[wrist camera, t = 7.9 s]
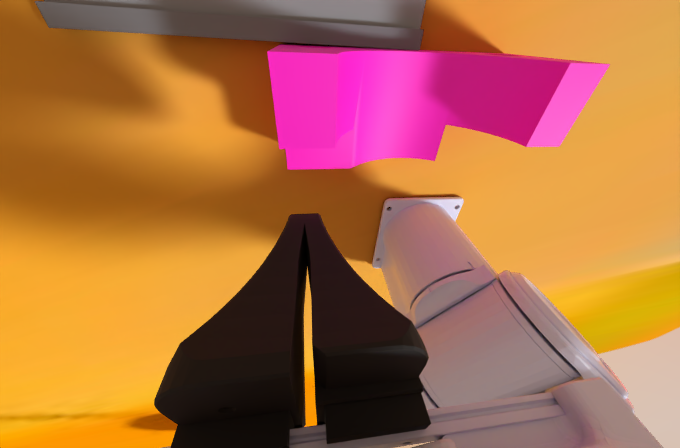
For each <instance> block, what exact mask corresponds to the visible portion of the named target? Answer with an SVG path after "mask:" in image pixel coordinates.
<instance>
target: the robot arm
mask: <svg viewBox="0 0 680 448" xmlns="http://www.w3.org/2000/svg"><path fill="white" fill-rule="evenodd" d="M463 202H464V200H463V199H462V198H461V197H426V198H389V199H387V200H386V201H385V202H384V206H383V211H382V216H381V221H380V226H379V231H378V236H377V241H376V246H375V251H374V256H373V261H372V266H373V267H374V268H381V269H382V272H383V275H384V278H385V281H386V284H387V287H388V290H389V293H390V296H391V299H392V302H393V305H394V307H392V306H391V305H390V304H389V303H387V302H386V301H385V300H384V299H383V298H382V297H380V296H379V295H378V294H377V293H376V292H375V291H374V290H373V289H372V288H371V287H370V286H369V285H368V284H367V283H366V282H365V281H363V280H362V278H361V277H360V276H359V275H358V274H357V273H356V272H355V271H354V270H353V268H352V267H351V266H350V265H349V264H348V262H347V261H346V260H345V259H344V257H343V256H342V254H341V253H340V252H339V250H338V249H337V247H336V246H335V244H334V243H333V241H332V239H331V238H330V236H329V234H328V232H327V230H326V228H325V226H324V224H323V222H322V219H321V216H320V215H319V214H318V213H316V214H291V215H290V216H289V218H288V221H287V223H286V226H285V228H284V230H283V232H282V234H281V236H280V237H279V239H278V241H277V243H276V244H275V246H274V248H273V249H272V251H271V252H270V254H269V255H268V257H267V258H266V260H265V261H264V262H263V264H262V265H261V266H260V268H259V269H258V270H257V271H256V273H255V274H254V275H253V276H252V278H251V279H250V280H249V281H248V282H247V283H246V284H245V285H244V287H243V288H242V289H241V290H240V291H239V292H238V293H237V294H236V295H235V296H234V297H233V298H232V299H231V300H230V301H229V302H228V303H227V304H226V305H225V306H224V307H223V308H222V309H220V310H219V311H218V312H217V313H216V314H215V315H214V316H213V317H212V318H211V319H209V320H208V321H207V322H206V323H205V324H203V325H202V326H201V327H200V328H199V329H197V330H196V331H195V332H194V333H193V334H191V335H190V336H189V337H188V338H186V339H185V340H184V341H183V342H181V343H180V345H179V347H178V349H177V351H176V352H175V354H174V356H173V358H172V360H171V362H170V364H169V366H168V368H167V370H166V373H165V375H164V378H163V380H162V383H161V385H160V387H159V390H158V392H157V395H156V397H155V401H154V405H155V407H156V408H157V409H158V411H159V412H160V413H162V414H163V415H165V416H166V417H168V418H169V419H170V420H172V421H173V422H175V423H176V424H178V426H177V429H176V432H175V435H174V438H173V442H172V445H171V446H170V447H163V448H393V447H400V446H406V445H413V444H419V443H425V442H430V443H426V444H423V445H419V446H416V447H412V448H663V447H662V446H661V445H660V443H659V442H658V441H657V440H656V439H655V438H654V436H653V435H652V434H651V433H650V432H649V431H648V430H647V428H646V427H645V426H644V425H643V424H642V423H641V422H640V420H639V419H638V418H637V417H636V416H635V413H634V407H633V405H632V404H631V402H630V401H629V399H628V391H627V390H626V388H625V387H624V385H623V384H622V383H621V381H620V380H619V379H618V377H617V376H616V375H615V374H614V372H613V371H612V370H611V369H610V368H609V367H608V365H607V364H606V363H605V362H604V361H603V360H602V359H601V358H600V357H599V355H598V354H597V353H596V351H595V350H594V349H593V348H592V346H591V345H590V344H589V343H588V342H587V341H586V339H585V338H584V337H583V336H582V335H581V334H580V333H579V331H578V330H577V329H576V328H575V327H574V326H573V325H572V324H571V323H570V322H569V321H568V319H567V318H566V317H565V316H564V315H563V314H562V313H561V312H560V311H559V310H558V309H557V308H556V307H555V306H554V305H553V304H552V303H551V302H550V301H549V300H548V298H547V297H546V296H545V295H544V294H543V293H542V292H541V291H540V290H539V289H538V288H537V287H535V286H534V285H533V284H532V283H531V282H530V281H529V280H528V279H527V278H526V277H525V276H523V275H522V274H520V273H515V272H510V271H508V270H505V271H503V272H502V273H500V274H497V273H496V271H495V270H494V269H493V268H492V267H491V265H490V264H489V263H488V262H487V260H486V259H485V258H484V257H483V255H482V254H481V253H480V252H479V250H478V249H477V248H476V247H475V246H474V244H473V243H472V242H471V241H470V239H469V238H468V237H467V236H466V234H465V233H464V232H463V231H462V229H461V228H460V227H459V226H458V225H457V223H456V222H455V220H456V218H457V216H458V214H459V211H460V209H461V207H462V205H463ZM456 205H457V206H456ZM455 206H456V207H455ZM388 207H390V208H389V209H387V208H388ZM377 258H378V259H377ZM307 266H308V274H309V282H310V290H311V297H312V345H313V360H314V375H315V400H316V414H317V425H316V426H309V427H304V426H305V424H306V423H305V377H304V301H305V289H306V276H307ZM431 441H434V442H431Z"/></svg>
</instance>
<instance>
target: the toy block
mask: <svg viewBox="0 0 680 448" xmlns="http://www.w3.org/2000/svg"><path fill="white" fill-rule="evenodd" d="M267 53H268V61H269V70H270V78H271V86H272V94H273V102H274V110H275V118H276V126H277V134H278V142H279V149H286V158H287V168H288V170H295V169H347V168H353V167H355V166H357V165H359V164H362V163H365V162H368V161H372V160H378V159H385V158H418V159H426V160H433V161H435V158H436V155H437V152H438V148H439V145H440V142H441V138H442V135H443V132H444V128H445V125H451V126H457V127H463V128H468V129H472V130H477V131H481V132H485V133H488V134H492V135H495V136H499V137H502V138H505V139H508V140H510V141H513V142H516V143H518V144H521V145H523V146H525V147H558V146H560V145H561V143H562V141H563V140H564V138H565V136H566V135H567V133H568V132H569V130H570V128H571V127H572V125H573V124H574V122H575V120H576V119H577V117H578V116H579V114H580V112H581V111H582V109H583V107H584V106H585V104H586V103H587V101H588V99H589V98H590V96H591V95H592V93H593V91H594V90H595V88H596V86H597V85H598V83H599V82H600V80H601V78H602V77H603V75H604V74H605V72H606V70H607V69H608V67H609V65H610V64H602V63H592V62H582V61H573V60H563V59H553V58H543V57H534V56H524V55H514V54H505V53H481V52H457V51H433V50H404V49H385V48H361V47H337V46H313V45H289V44H280V45H278V46H277V47H275V48H273V49H271V50H269V51H267Z"/></svg>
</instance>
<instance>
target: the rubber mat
mask: <svg viewBox="0 0 680 448" xmlns="http://www.w3.org/2000/svg"><path fill="white" fill-rule="evenodd" d="M35 3H36V5H37V7H38V8H39V10H40V12H41V14H42V16H43V18H44V19H45V21H46V23H47V25H48V27H49V28H63V29H80V30H96V31H112V32H128V33H145V34H161V35H177V36H193V37H210V38H226V39H242V40H258V41H275V42H291V43H307V44H323V45H339V46H356V47H372V48H388V49H404V50H420V46H421V41H422V36H423V31H424V30H422V29H420V27H421V22H422V17H423V13H424V8H425V3H426V0H44V2H42V1H35Z"/></svg>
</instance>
